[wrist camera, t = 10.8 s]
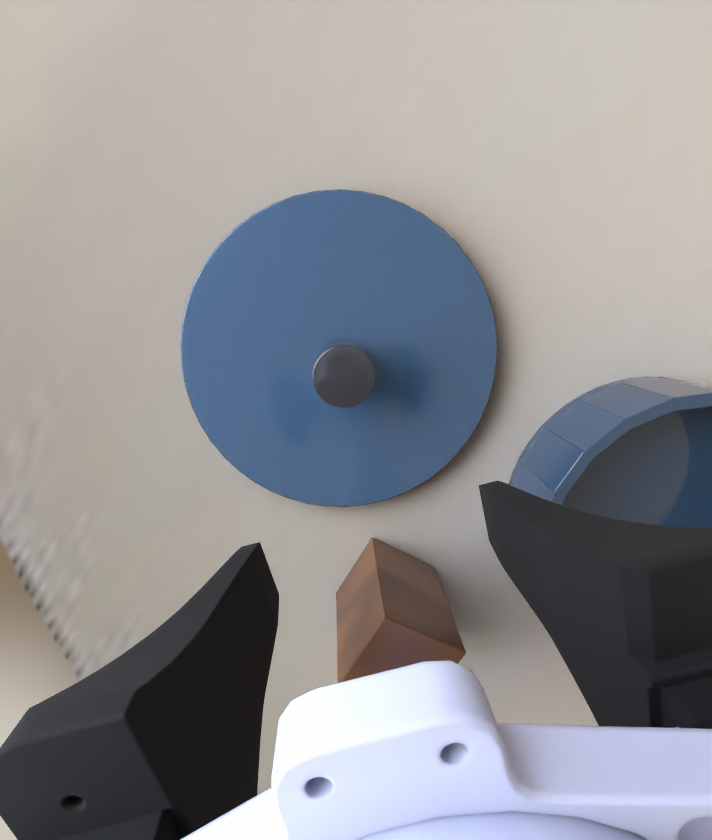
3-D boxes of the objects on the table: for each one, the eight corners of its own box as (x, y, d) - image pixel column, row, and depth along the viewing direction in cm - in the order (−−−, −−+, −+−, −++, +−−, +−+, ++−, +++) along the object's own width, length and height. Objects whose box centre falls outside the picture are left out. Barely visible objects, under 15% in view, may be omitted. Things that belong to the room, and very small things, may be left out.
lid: (392, 539, 23) (406, 593, 19) (140, 418, 20) (90, 449, 16) (547, 302, 20) (604, 303, 16) (273, 125, 17) (255, 69, 13)
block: (396, 620, 24) (417, 719, 19) (335, 593, 24) (337, 687, 18) (433, 566, 24) (467, 653, 18) (371, 536, 23) (385, 617, 17)
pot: (638, 632, 26) (691, 689, 22) (458, 542, 23) (482, 589, 20) (794, 450, 23) (885, 480, 19) (607, 328, 21) (669, 334, 17)
